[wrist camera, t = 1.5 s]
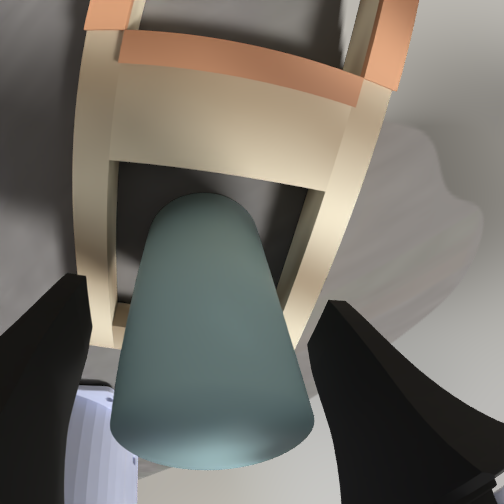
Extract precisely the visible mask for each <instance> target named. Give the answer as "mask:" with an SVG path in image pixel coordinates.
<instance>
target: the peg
mask: <svg viewBox="0 0 504 504" xmlns="http://www.w3.org/2000/svg"><path fill="white" fill-rule="evenodd" d="M313 426H314V415H313V412H312V408H311V405H310V401H309V398H308V395H307V391H306V388H305V384H304V381H303V378H302V374H301V371H300V368H299V364H298V361H297V358H296V354H295V351H294V348H293V344H292V341H291V338H290V335H289V331H288V328H287V325H286V321H285V318H284V315H283V311H282V308H281V305H280V302H279V298H278V295H277V292H276V289H275V285H274V282H273V279H272V276H271V272H270V269H269V266H268V263H267V259H266V256H265V253H264V250H263V247H262V243H261V240H260V237H259V234H258V231H257V228H256V225H255V222H254V221H253V219H252V217H251V216H250V214H249V213H248V212H247V211H246V210H245V209H244V208H243V207H242V206H241V205H240V204H238V203H237V202H235V201H233V200H232V199H230V198H227V197H225V196H222V195H218V194H213V193H194V194H189V195H185V196H182V197H180V198H177V199H175V200H173V201H172V202H170V203H169V204H167V205H166V206H165V207H163V208H162V209H161V211H160V212H159V213H158V214H157V215H156V217H155V218H154V220H153V222H152V224H151V227H150V230H149V233H148V236H147V240H146V244H145V247H144V251H143V255H142V259H141V263H140V267H139V271H138V275H137V279H136V283H135V287H134V291H133V296H132V300H131V304H130V309H129V314H128V318H127V323H126V328H125V333H124V338H123V343H122V348H121V354H120V359H119V365H118V371H117V377H116V383H115V390H114V396H113V404H112V411H111V419H110V430H111V433H112V435H113V437H114V438H115V440H116V441H117V442H118V443H119V444H120V445H121V446H122V447H123V448H125V449H126V450H128V451H129V452H131V453H133V454H134V455H136V456H138V457H141V458H143V459H145V460H148V461H151V462H154V463H157V464H161V465H165V466H169V467H176V468H182V469H191V470H192V469H193V470H222V469H232V468H238V467H244V466H249V465H254V464H257V463H261V462H264V461H267V460H270V459H273V458H275V457H278V456H280V455H282V454H284V453H286V452H288V451H289V450H291V449H293V448H295V447H296V446H297V445H299V444H300V443H301V442H302V441H303V440H304V439H305V438H307V436H308V435H309V434H310V432H311V431H312V428H313Z"/></svg>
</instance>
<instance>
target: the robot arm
mask: <svg viewBox="0 0 504 504" xmlns="http://www.w3.org/2000/svg"><path fill="white" fill-rule="evenodd" d="M92 328H93V326H92V319H91V312H90V305H89V297H88V289H87V279H86V276H84V275H77V274H70V273H67V274H65V275H64V276H63V277H62V278H61V279H60V280H59V281H58V282H57V283H56V284H54V285H53V286H52V287H51V288H50V289H49V290H48V291H47V292H46V293H45V294H44V295H43V296H42V297H41V298H40V299H39V300H38V301H37V302H36V303H35V304H34V305H33V306H32V307H31V308H30V309H29V310H28V311H27V312H26V313H24V314H23V315H22V316H21V317H20V318H19V319H18V320H17V321H16V322H15V323H14V324H13V325H12V326H11V327H10V328H9V329H7V330H6V331H5V332H4V333H3V334H2V335H1V336H0V504H137V479H138V456H136V455H134V454H133V453H131V452H129V451H128V450H126V449H125V448H123V447H122V446H121V445H120V444H119V443H118V442H117V441H116V440H115V438H114V437H113V435H112V433H111V430H110V419H111V411H112V404H113V396H114V390H113V389H112V388H111V387H108V386H86V385H79V383H80V380H81V376H82V372H83V369H84V366H85V362H86V359H87V354H88V349H89V344H90V339H91V333H92ZM307 346H308V352H309V359H310V364H311V370H312V374H313V377H314V381H315V384H316V387H317V390H318V393H319V397H320V400H321V403H322V406H323V409H324V412H325V415H326V418H327V421H328V425H329V428H330V432H331V435H332V439H333V444H334V449H335V455H336V460H337V466H338V474H339V482H340V492H341V504H504V486H503V487H501V488H500V489H499V490H497V491H495V492H494V493H493V491H492V488H494V487H495V486H496V485H497V484H496V481H495V479H494V478H496V477H497V476H499V475H500V474H502V473H503V472H504V423H502V422H500V421H497V420H495V419H493V418H491V417H489V416H487V415H485V414H483V413H481V412H479V411H477V410H476V409H474V408H472V407H470V406H469V405H467V404H465V403H464V402H462V401H461V400H459V399H458V398H456V397H454V396H453V395H451V394H450V393H449V392H447V391H446V390H444V389H443V388H441V387H440V386H439V385H437V384H436V383H435V382H434V381H432V380H431V379H430V378H428V377H427V376H426V375H425V374H424V373H422V372H421V371H420V370H419V369H418V368H416V367H415V366H414V365H413V364H412V363H411V362H410V361H408V360H407V359H406V358H405V357H404V356H403V355H402V354H401V353H400V352H399V351H398V350H396V349H395V348H394V347H393V346H392V345H391V344H390V343H389V342H388V341H387V340H386V339H385V338H384V337H383V336H382V335H381V334H380V333H379V332H378V331H377V330H376V329H375V328H374V327H373V326H372V325H371V324H370V323H369V322H368V321H367V320H366V319H365V318H364V317H363V316H362V315H360V314H359V313H358V312H357V311H356V310H355V309H354V308H353V307H352V306H351V305H350V304H348V303H347V302H346V301H337V300H328V302H327V304H326V307H325V309H324V311H323V313H322V315H321V317H320V319H319V321H318V324H317V326H316V328H315V330H314V332H313V334H312V336H311V338H310V340H309V342H308V344H307Z"/></svg>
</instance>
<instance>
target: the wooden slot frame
mask: <svg viewBox="0 0 504 504" xmlns="http://www.w3.org/2000/svg"><path fill="white" fill-rule="evenodd" d="M145 1H146V0H90V4H89V8H88V12H87V16H86V21H85V25H84V30H87V33H86V39H85V44H84V49H83V55H82V61H81V68H80V75H79V83H78V91H77V100H76V110H75V122H74V138H73V166H72V196H73V224H74V240H75V253H76V264H77V273H78V275H84V276H86V279H87V289H88V297H89V305H90V312H91V319H92V326H93V328H92V333H91V339H90V344H89V345H94V346H100V347H107V348H114V349H121V348H122V343H123V338H124V333H125V328H126V323H127V318H128V314H129V309H130V304H127V303H119V302H118V298H117V273H116V214H117V189H118V172H119V161H125V162H135V163H145V164H154V165H162V166H171V167H179V168H187V169H194V170H202V171H209V172H216V173H223V174H229V175H236V176H242V177H248V178H254V179H260V180H266V181H272V182H277V183H283V184H288V185H294V186H299V187H304V188H308V192H307V195H306V198H305V201H304V205H303V208H302V211H301V214H300V218H299V221H298V224H297V227H296V230H295V233H294V236H293V240H292V243H291V246H290V249H289V252H288V255H287V258H286V261H285V264H284V267H283V270H282V273H281V276H280V279H279V283H278V286H277V289H276V292H277V295H278V298H279V302H280V305H281V308H282V311H283V315H284V318H285V321H286V325H287V328H288V331H289V335H290V338H291V341H292V344H293V348H294V350H295V348H296V345H297V343H298V341H299V339H300V337H301V335H302V332H303V330H304V328H305V326H306V324H307V321H308V319H309V317H310V315H311V312H312V310H313V308H314V305H315V303H316V301H317V298H318V296H319V294H320V291H321V289H322V287H323V284H324V282H325V280H326V277H327V275H328V272H329V270H330V268H331V265H332V263H333V260H334V258H335V255H336V253H337V250H338V248H339V245H340V243H341V240H342V237H343V235H344V232H345V230H346V227H347V224H348V222H349V219H350V216H351V214H352V211H353V208H354V206H355V203H356V200H357V197H358V195H359V192H360V189H361V186H362V183H363V181H364V178H365V175H366V172H367V169H368V166H369V163H370V160H371V157H372V154H373V151H374V148H375V145H376V142H377V139H378V136H379V132H380V129H381V126H382V123H383V119H384V116H385V113H386V110H387V106H388V103H389V99H390V96H391V92H392V91H397V89H398V86H399V82H400V78H401V75H402V71H403V67H404V63H405V59H406V56H407V51H408V48H409V43H410V39H411V35H412V31H413V26H414V22H415V17H416V13H417V8H418V3H419V0H360V4H359V8H358V12H357V16H356V20H355V24H354V28H353V32H352V36H351V40H350V44H349V48H348V51H347V55H346V59H345V63H344V67H343V70H340V69H337V68H334V67H331V66H328V65H325V64H322V63H319V62H316V61H312V60H309V59H306V58H302V57H299V56H295V55H291V54H288V53H284V52H280V51H276V50H272V49H268V48H263V47H259V46H254V45H249V44H245V43H240V42H234V41H229V40H223V39H217V38H211V37H204V36H197V35H189V34H180V33H171V32H159V31H145V30H139V26H140V22H141V17H142V13H143V9H144V5H145Z"/></svg>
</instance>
